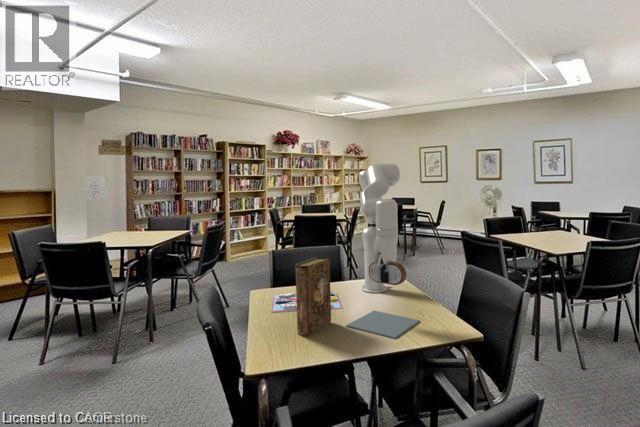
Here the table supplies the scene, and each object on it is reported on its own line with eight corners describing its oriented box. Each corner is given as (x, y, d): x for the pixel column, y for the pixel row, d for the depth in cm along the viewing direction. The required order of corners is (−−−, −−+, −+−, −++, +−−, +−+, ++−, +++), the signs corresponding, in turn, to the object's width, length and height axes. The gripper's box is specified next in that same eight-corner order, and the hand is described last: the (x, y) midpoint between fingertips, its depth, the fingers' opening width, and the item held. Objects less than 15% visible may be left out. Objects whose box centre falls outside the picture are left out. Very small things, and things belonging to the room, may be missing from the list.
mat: (374, 311, 156) (374, 310, 156) (419, 321, 144) (419, 320, 144) (346, 326, 141) (346, 325, 141) (395, 339, 128) (395, 337, 128)
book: (308, 337, 132) (306, 266, 130) (295, 334, 134) (293, 265, 133) (331, 322, 146) (329, 258, 144) (319, 320, 149) (317, 257, 147)
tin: (406, 285, 140) (406, 262, 139) (402, 287, 137) (402, 264, 137) (371, 280, 149) (371, 258, 149) (367, 281, 147) (367, 260, 146)
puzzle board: (271, 314, 159) (270, 308, 159) (273, 298, 182) (273, 292, 182) (343, 310, 161) (342, 304, 161) (336, 295, 184) (336, 289, 184)
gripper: (387, 230, 151) (388, 275, 152) (366, 234, 138) (367, 284, 140) (405, 231, 146) (405, 278, 147) (384, 236, 133) (385, 287, 135)
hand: (386, 280), depth 143 cm, fingers closed on tin, 2 cm apart
